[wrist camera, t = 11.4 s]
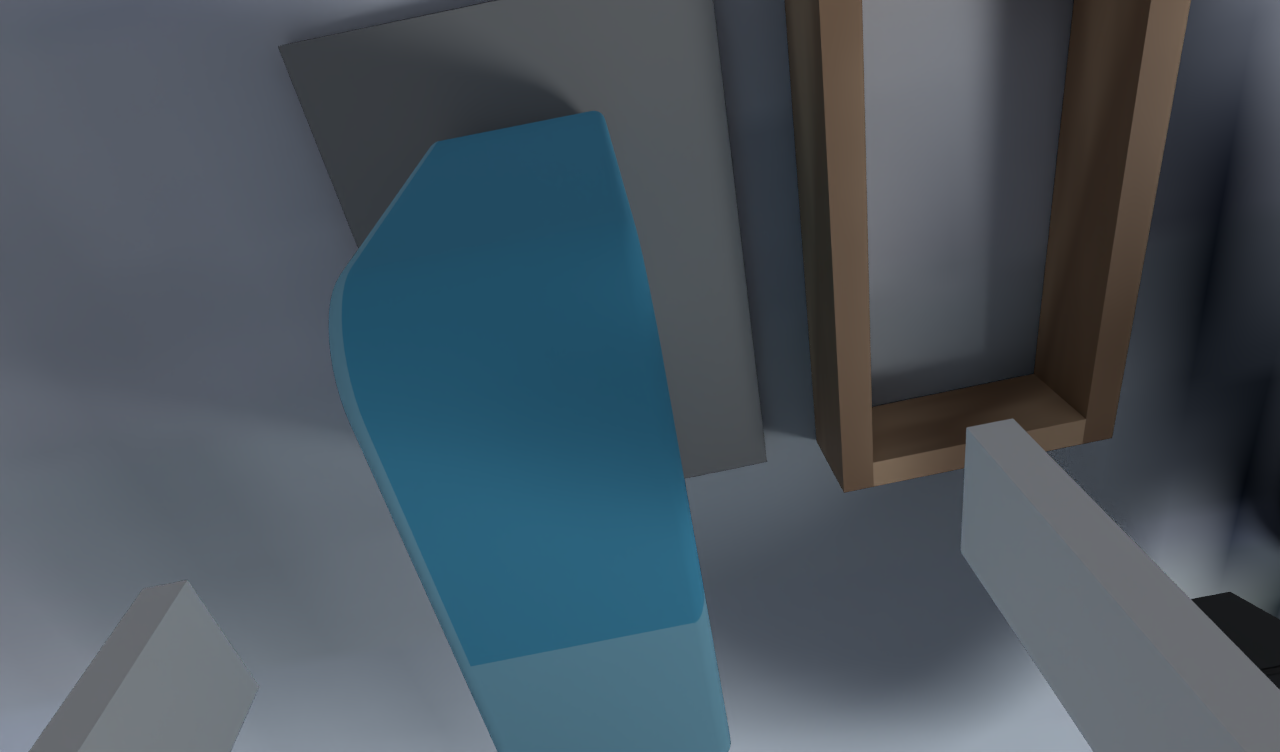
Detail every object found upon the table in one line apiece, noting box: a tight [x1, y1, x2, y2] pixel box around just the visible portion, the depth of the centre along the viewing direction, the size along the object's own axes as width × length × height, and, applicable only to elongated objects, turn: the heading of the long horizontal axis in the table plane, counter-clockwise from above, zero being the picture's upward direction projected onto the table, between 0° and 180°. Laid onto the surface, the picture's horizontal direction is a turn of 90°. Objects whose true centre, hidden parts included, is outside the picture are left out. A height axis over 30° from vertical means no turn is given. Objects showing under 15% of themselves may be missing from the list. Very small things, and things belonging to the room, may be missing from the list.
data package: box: [329, 111, 731, 752], centre depth 17 cm, size 12×4×12 cm, turn 10°
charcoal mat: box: [278, 0, 767, 479], centre depth 23 cm, size 11×16×1 cm
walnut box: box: [785, 0, 1191, 493], centre depth 21 cm, size 9×16×3 cm, turn 10°
